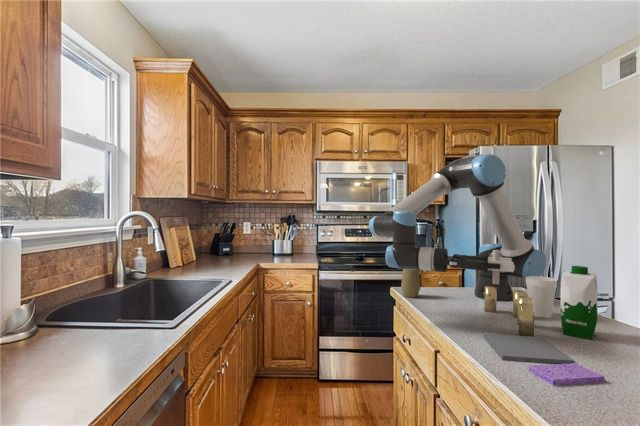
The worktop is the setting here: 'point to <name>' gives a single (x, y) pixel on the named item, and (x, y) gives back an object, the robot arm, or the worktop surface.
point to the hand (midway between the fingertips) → (512, 264)
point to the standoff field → (514, 309)
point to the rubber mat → (526, 349)
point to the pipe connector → (496, 273)
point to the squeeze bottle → (410, 283)
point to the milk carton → (579, 303)
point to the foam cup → (541, 294)
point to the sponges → (565, 374)
